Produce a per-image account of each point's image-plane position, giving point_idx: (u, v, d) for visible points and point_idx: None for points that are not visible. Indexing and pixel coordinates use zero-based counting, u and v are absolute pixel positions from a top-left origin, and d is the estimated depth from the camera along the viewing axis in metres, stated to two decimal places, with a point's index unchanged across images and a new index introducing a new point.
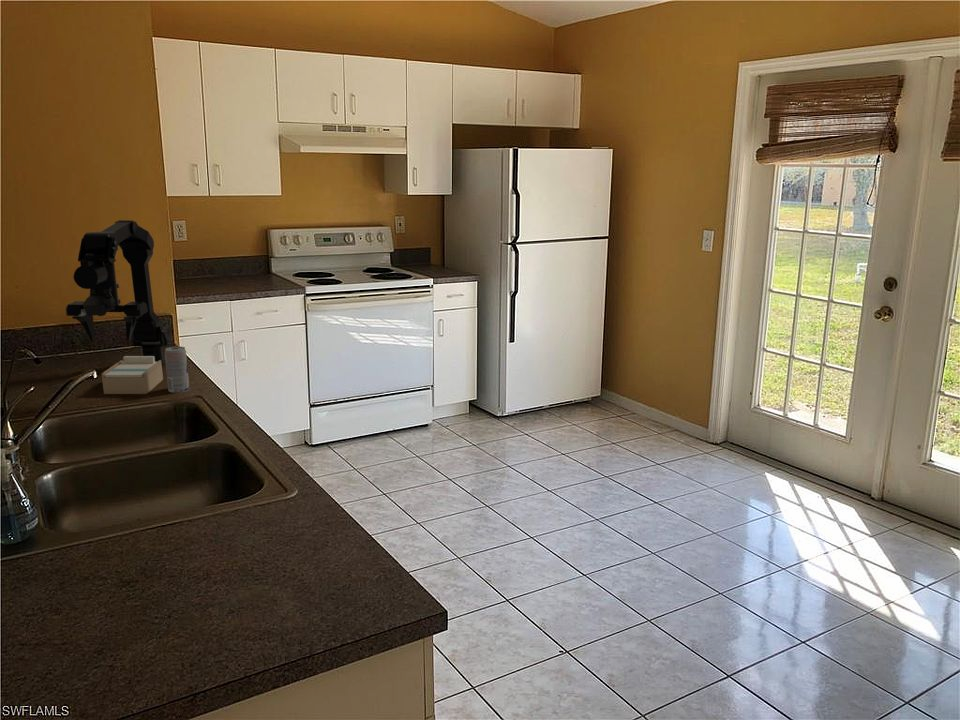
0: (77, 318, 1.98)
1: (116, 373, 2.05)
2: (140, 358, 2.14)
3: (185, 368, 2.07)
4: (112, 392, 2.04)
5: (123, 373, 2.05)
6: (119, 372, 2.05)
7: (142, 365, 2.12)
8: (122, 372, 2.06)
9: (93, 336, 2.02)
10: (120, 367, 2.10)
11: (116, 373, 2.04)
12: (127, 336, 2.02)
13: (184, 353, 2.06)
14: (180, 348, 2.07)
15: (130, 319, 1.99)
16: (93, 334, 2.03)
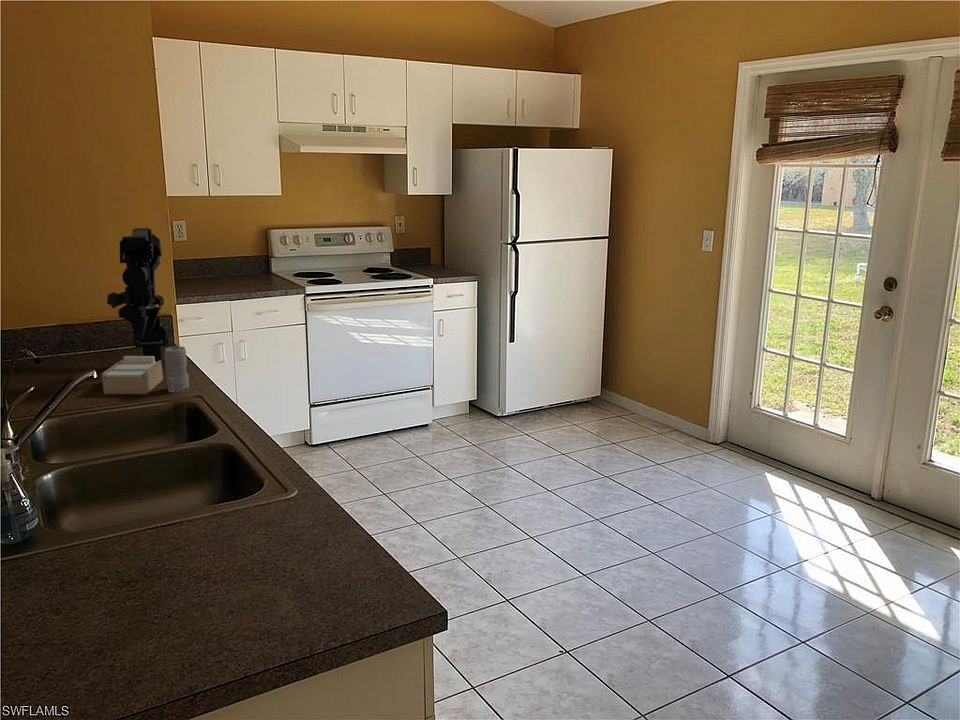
0: None
1: (116, 373, 2.05)
2: (140, 358, 2.14)
3: (185, 368, 2.07)
4: (112, 392, 2.04)
5: (123, 373, 2.05)
6: (119, 372, 2.05)
7: (142, 365, 2.12)
8: (122, 372, 2.06)
9: (149, 329, 2.22)
10: (120, 367, 2.10)
11: (116, 373, 2.04)
12: None
13: (184, 353, 2.06)
14: (180, 348, 2.07)
15: None
16: (150, 328, 2.22)
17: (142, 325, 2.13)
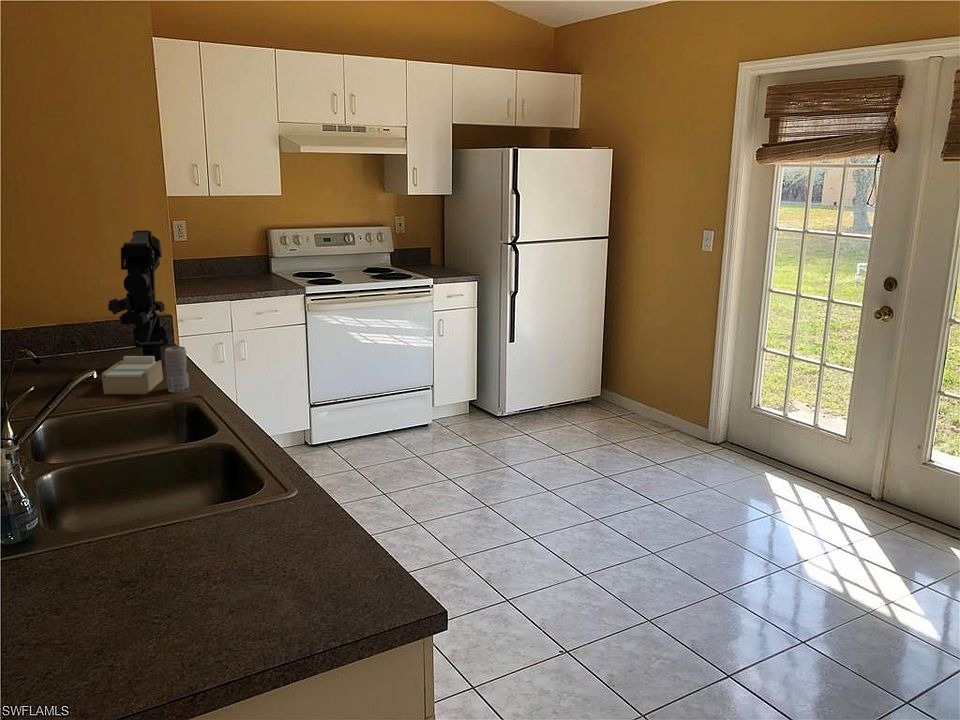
0: None
1: (116, 373, 2.05)
2: (140, 358, 2.14)
3: (185, 368, 2.07)
4: (112, 392, 2.04)
5: (123, 373, 2.05)
6: (119, 372, 2.05)
7: (142, 365, 2.12)
8: (122, 372, 2.06)
9: None
10: (120, 367, 2.10)
11: (116, 373, 2.04)
12: None
13: (184, 353, 2.06)
14: (180, 348, 2.07)
15: None
16: None
17: (147, 328, 2.17)
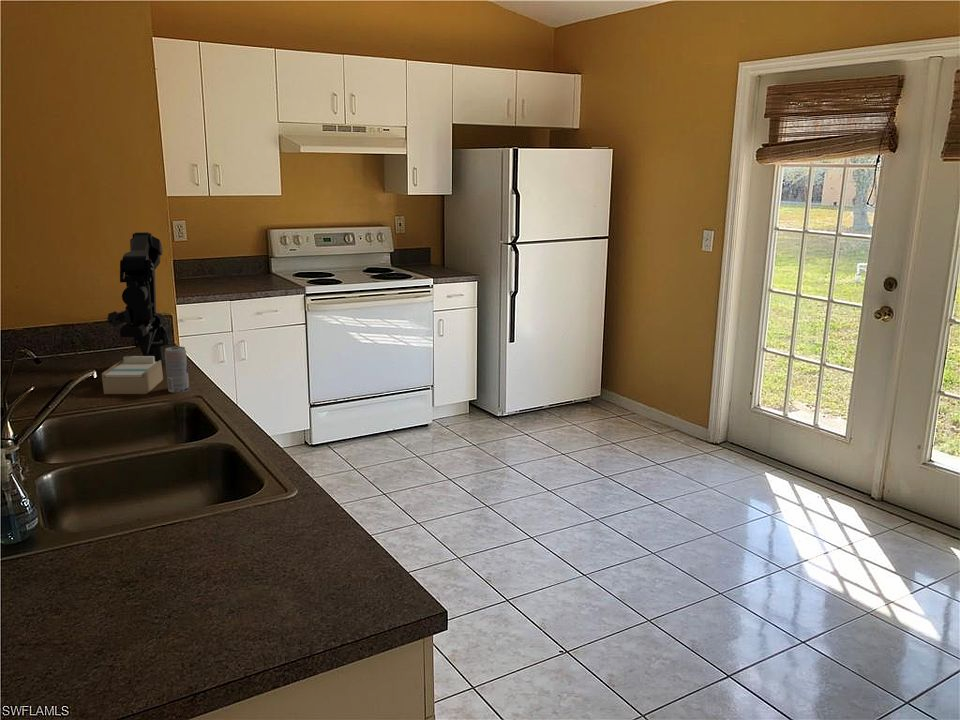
0: None
1: (116, 373, 2.05)
2: (140, 358, 2.14)
3: (185, 368, 2.07)
4: (112, 392, 2.04)
5: (123, 373, 2.05)
6: (119, 372, 2.05)
7: (142, 365, 2.12)
8: (122, 372, 2.06)
9: None
10: (120, 367, 2.10)
11: (116, 373, 2.04)
12: None
13: (184, 353, 2.06)
14: (180, 348, 2.07)
15: None
16: None
17: (147, 341, 2.16)
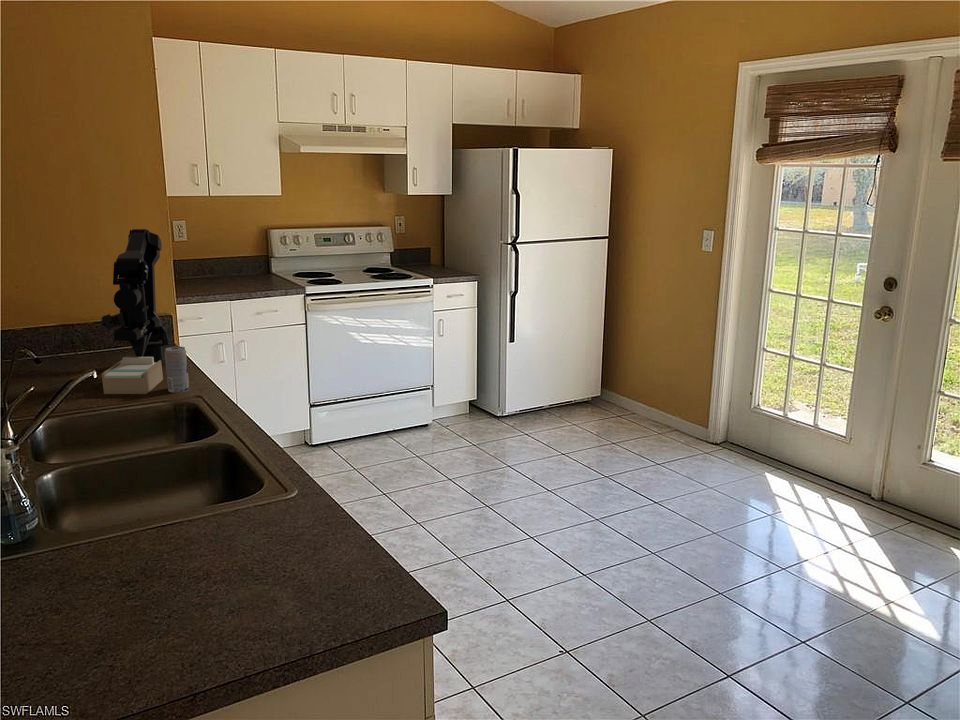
0: None
1: (115, 374, 2.04)
2: (139, 359, 2.13)
3: (185, 368, 2.07)
4: (112, 392, 2.04)
5: (122, 374, 2.04)
6: (118, 373, 2.05)
7: (141, 366, 2.12)
8: (121, 373, 2.05)
9: None
10: (119, 368, 2.09)
11: (116, 374, 2.04)
12: None
13: (184, 353, 2.06)
14: (180, 348, 2.07)
15: None
16: None
17: (141, 344, 2.12)
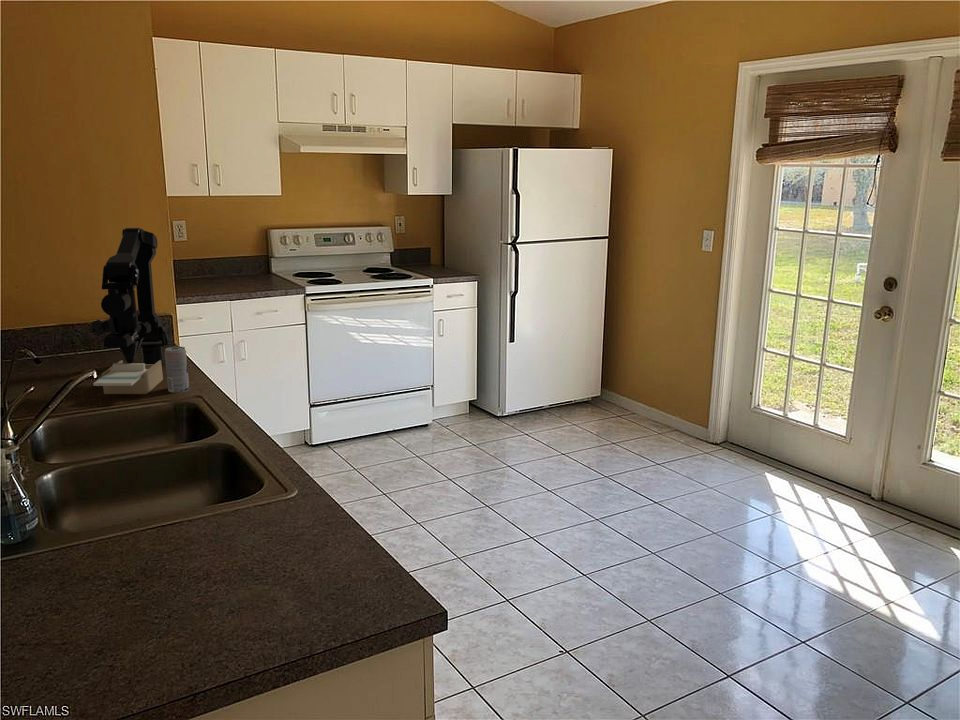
0: None
1: (105, 381, 1.97)
2: (130, 365, 2.07)
3: (185, 368, 2.07)
4: (112, 392, 2.04)
5: (112, 381, 1.98)
6: (108, 380, 1.98)
7: (132, 373, 2.05)
8: (111, 380, 1.98)
9: None
10: (109, 375, 2.03)
11: (105, 381, 1.97)
12: None
13: (184, 353, 2.06)
14: (180, 348, 2.07)
15: None
16: None
17: (132, 351, 2.06)
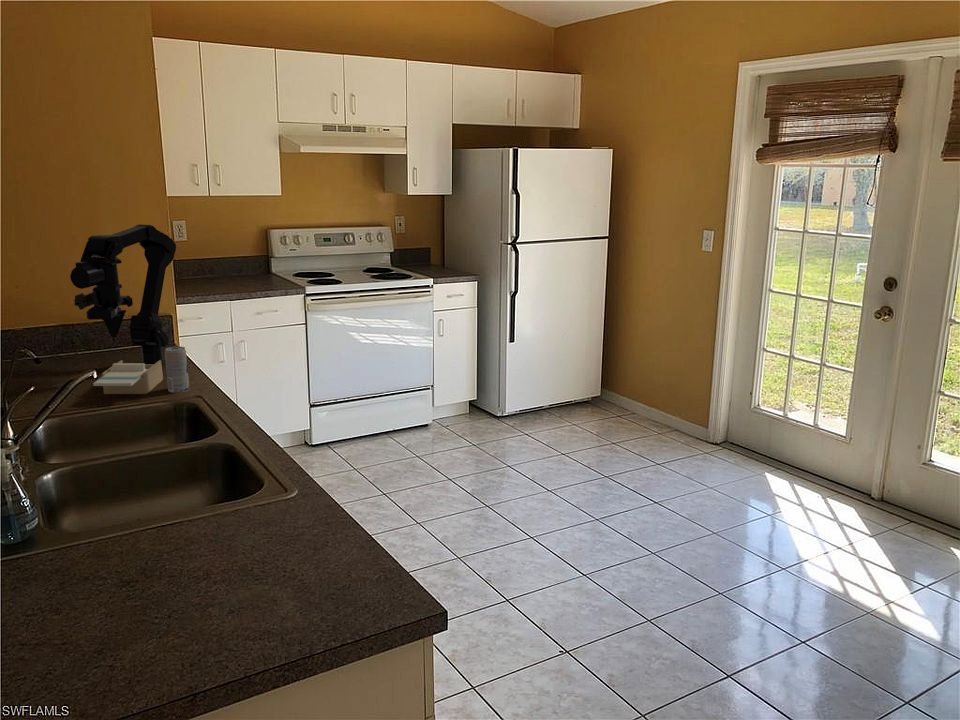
0: None
1: (105, 381, 1.97)
2: (130, 365, 2.07)
3: (185, 368, 2.07)
4: (112, 392, 2.04)
5: (112, 381, 1.97)
6: (108, 380, 1.98)
7: (132, 373, 2.05)
8: (111, 380, 1.98)
9: None
10: (109, 375, 2.03)
11: (105, 381, 1.97)
12: None
13: (184, 353, 2.06)
14: (180, 348, 2.07)
15: None
16: None
17: (115, 323, 2.13)
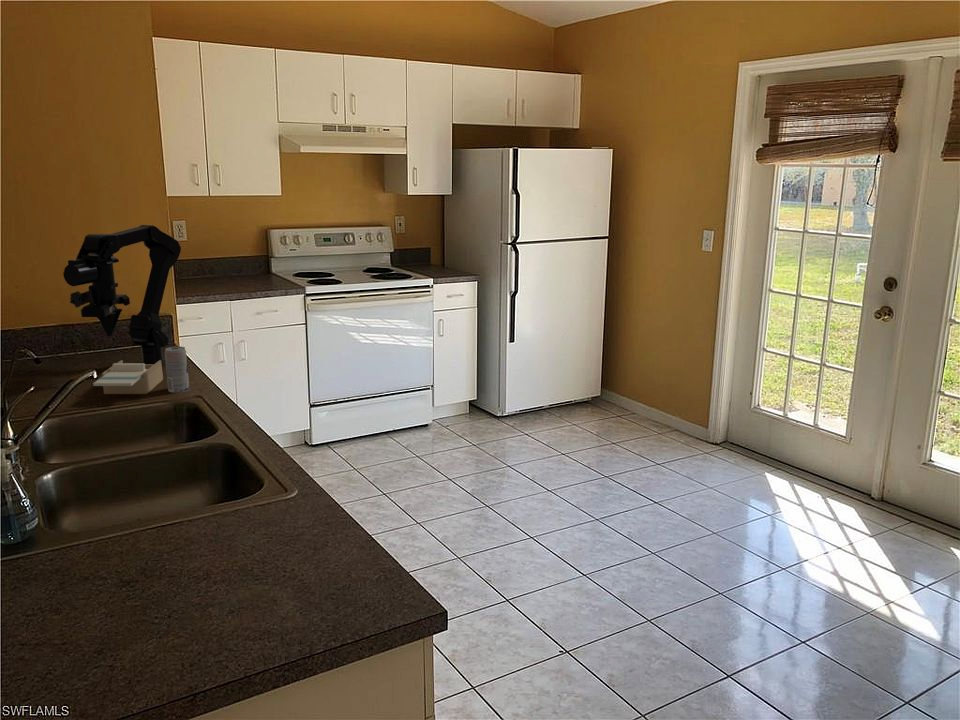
0: None
1: (105, 381, 1.97)
2: (130, 365, 2.07)
3: (185, 368, 2.07)
4: (112, 392, 2.04)
5: (112, 381, 1.97)
6: (108, 380, 1.98)
7: (132, 373, 2.05)
8: (111, 380, 1.98)
9: None
10: (109, 375, 2.03)
11: (105, 381, 1.97)
12: None
13: (184, 353, 2.06)
14: (180, 348, 2.07)
15: None
16: None
17: (111, 322, 2.14)
